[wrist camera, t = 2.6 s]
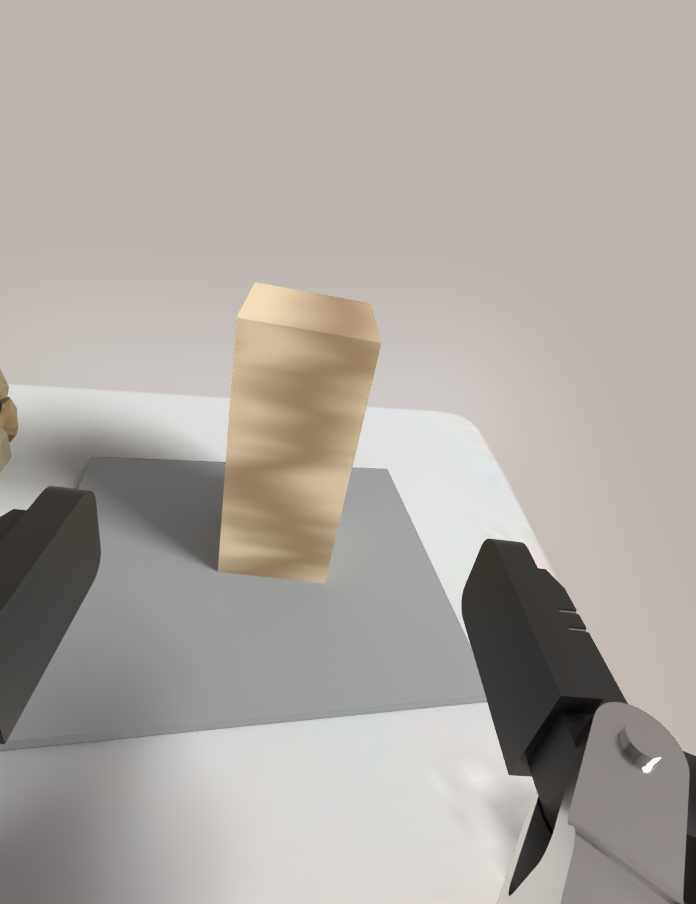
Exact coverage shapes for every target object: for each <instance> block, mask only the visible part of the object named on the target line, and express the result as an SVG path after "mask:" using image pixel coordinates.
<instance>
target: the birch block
mask: <svg viewBox="0 0 696 904" xmlns="http://www.w3.org/2000/svg"><path fill="white" fill-rule="evenodd" d="M235 334H236V335H235V347H234V360H233V373H232V387H231V400H230V414H229V427H228V441H227V454H226V467H225V481H224V494H223V508H222V521H221V534H220V548H219V561H218V572H224V573H233V574H242V575H251V576H260V577H269V578H278V579H287V580H297V581H306V582H315V583H324V584H325V581H326V577H327V572H328V568H329V564H330V560H331V555H332V551H333V547H334V543H335V538H336V534H337V530H338V525H339V521H340V517H341V513H342V508H343V504H344V500H345V496H346V491H347V487H348V483H349V479H350V474H351V470H352V466H353V461H354V457H355V453H356V449H357V444H358V440H359V436H360V432H361V427H362V423H363V419H364V414H365V410H366V406H367V402H368V397H369V393H370V388H371V385H372V380H373V375H374V371H375V367H376V363H377V359H378V355H379V350H380V346H381V340H380V336H379V333H378V328H377V325H376V321H375V317H374V314H373V310H372V306H371V304H369V303H365V302H359V301H354V300H348V299H343V298H338V297H332V296H327V295H321V294H316V293H311V292H305V291H300V290H294V289H289V288H284V287H278V286H273V285H268V284H262V283H257V282H255V284H254V286H253V288H252V290H251V291H250V293H249V295H248V297H247V299H246V301H245V303H244V304H243V306H242V308H241V310H240V312H239V314H238V316H237V320H236V333H235Z"/></svg>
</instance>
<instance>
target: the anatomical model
mask: <svg viewBox="0 0 696 904" xmlns="http://www.w3.org/2000/svg"><path fill="white" fill-rule="evenodd" d="M8 389H9V387H8V385H7V382H6V380H5V378H4V376H3V374H2V372H1V370H0V472H1V470H2V469H3V468H4V466H5V465H6V464H7V462H8V461H9V460H10V458H11V452H10V446H9V442H11V440H12V439H13V438H14V437H15V436H16V433H17V429H18V422H17V409H16V406H15V405H14V403H13V402H12V400H11V399H10V397H7V394H8Z"/></svg>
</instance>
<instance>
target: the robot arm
mask: <svg viewBox="0 0 696 904" xmlns="http://www.w3.org/2000/svg"><path fill="white" fill-rule="evenodd" d="M100 558H101V545H100V535H99V525H98V515H97V505H96V497H95V495H94V493H93V492H92V491H88V490H80V489H71V488H63V487H54V486H50V487H47V488H46V489H45V490H44V491H43V492H42V493H41V494H40V495H39V497H38V498H37V499H36V500H35V501H34V503H33V504H32V505H31V506H30V507H29V509H28V510H18V509H13V510H11V511H10V512H8V513H6V514H5V515H3V516H1V517H0V744H6V742H7V740H8V738H9V736H10V734H11V733H12V731H13V729H14V727H15V725H16V723H17V722H18V720H19V718H20V716H21V714H22V712H23V711H24V709H25V707H26V705H27V703H28V701H29V700H30V698H31V696H32V694H33V692H34V690H35V688H36V687H37V685H38V683H39V681H40V679H41V677H42V676H43V674H44V672H45V670H46V668H47V666H48V665H49V663H50V661H51V659H52V657H53V655H54V654H55V652H56V650H57V648H58V646H59V644H60V643H61V641H62V639H63V637H64V635H65V633H66V632H67V630H68V628H69V626H70V624H71V622H72V621H73V619H74V617H75V615H76V613H77V611H78V610H79V608H80V606H81V604H82V602H83V600H84V599H85V597H86V595H87V593H88V591H89V589H90V588H91V586H92V584H93V582H94V580H95V578H96V575H97V572H98V569H99V564H100ZM462 616H463V620H464V624H465V627H466V630H467V634H468V637H469V641H470V644H471V647H472V651H473V654H474V658H475V661H476V665H477V668H478V671H479V675H480V678H481V682H482V685H483V688H484V692H485V695H486V699H487V702H488V706H489V709H490V712H491V716H492V719H493V723H494V726H495V729H496V733H497V736H498V740H499V743H500V746H501V750H502V753H503V757H504V760H505V764H506V767H507V770H508V774H509V775H517V776H532V777H533V780H534V784H535V787H536V790H537V792H536V793H535V795H534V796H533V798H532V800H531V803H530V806H529V809H528V812H527V815H526V818H525V821H524V824H523V827H522V830H521V833H520V836H519V839H518V842H517V845H516V848H515V851H514V854H513V857H512V860H511V863H510V866H509V869H508V872H507V875H506V878H505V881H504V884H503V887H502V890H501V893H500V896H499V899H498V901H497V904H696V756H694V755H691V754H689V753H686V752H684V751H682V749H681V747H680V746H679V744H678V743H677V741H676V740H675V738H674V737H673V736H672V735H671V734H670V733H669V731H668V730H667V729H666V728H665V727H664V726H663V725H662V724H661V723H659V722H658V721H657V720H656V719H654V718H653V717H652V716H650V715H649V714H647V713H646V712H644V711H642V710H640V709H639V708H636V707H634V706H632V705H629V704H628V703H627V702H626V700H625V698H624V696H623V694H622V693H621V691H620V689H619V687H618V685H617V683H616V682H615V680H614V678H613V676H612V674H611V673H610V671H609V669H608V667H607V665H606V663H605V661H604V660H603V658H602V656H601V654H600V652H599V651H598V649H597V647H596V645H595V643H594V641H593V640H592V638H591V636H590V634H589V633H588V632H586V627H585V625H584V623H583V621H582V620H581V618H580V616H579V614H576V608H575V607H574V605H573V603H572V601H571V599H570V597H569V596H568V594H567V592H566V590H565V588H564V587H563V586H562V585H561V584H560V583H559V582H558V581H557V580H556V579H555V578H554V577H553V576H552V575H551V574H550V573H549V572H548V571H547V570H546V569H538V568H537V566H536V564H535V562H534V560H533V558H532V556H531V554H530V552H529V550H528V548H527V546H526V545H525V544H524V543H521V542H513V541H505V540H496V539H487V540H485V541H484V543H483V544H482V546H481V549H480V551H479V553H478V556H477V558H476V561H475V563H474V565H473V568H472V570H471V573H470V575H469V578H468V580H467V582H466V585H465V587H464V590H463V595H462Z"/></svg>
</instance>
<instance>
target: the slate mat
mask: <svg viewBox="0 0 696 904" xmlns="http://www.w3.org/2000/svg"><path fill="white" fill-rule="evenodd" d="M225 467H226V462H207V461H183V460H159V459H135V458H111V457H90V459H89V462H88V465H87V467H86V470H85V472H84V475H83V477H82V480H81V482H80V485H79V487H78V489H80V490H88V491H92V492H93V493H94V495H95V497H96V505H97V515H98V525H99V535H100V545H101V558H100V564H99V569H98V572H97V575H96V578H95V580H94V582H93V584H92V586H91V588H90V589H89V591H88V593H87V595H86V597H85V599H84V600H83V602H82V604H81V606H80V608H79V610H78V611H77V613H76V615H75V617H74V619H73V621H72V622H71V624H70V626H69V628H68V630H67V632H66V633H65V635H64V637H63V639H62V641H61V643H60V644H59V646H58V648H57V650H56V652H55V654H54V655H53V657H52V659H51V661H50V663H49V665H48V666H47V668H46V670H45V672H44V674H43V676H42V677H41V679H40V681H39V683H38V685H37V687H36V688H35V690H34V692H33V694H32V696H31V698H30V700H29V701H28V703H27V705H26V707H25V709H24V711H23V712H22V714H21V716H20V718H19V720H18V722H17V723H16V725H15V727H14V729H13V731H12V733H11V734H10V736H9V738H8V740H7V742H6V744H0V751H3V750H13V749H23V748H33V747H43V746H53V745H62V744H72V743H82V742H92V741H102V740H112V739H122V738H132V737H142V736H152V735H162V734H171V733H181V732H191V731H201V730H211V729H221V728H231V727H241V726H251V725H261V724H271V723H280V722H290V721H300V720H310V719H320V718H330V717H340V716H350V715H360V714H370V713H380V712H390V711H399V710H409V709H419V708H429V707H439V706H449V705H459V704H469V703H479V702H487V699H486V695H485V692H484V688H483V685H482V682H481V678H480V675H479V671H478V668H477V665H476V661H475V658H474V654H473V651H472V649H471V647H470V644H469V642H468V640H467V638H466V636H465V634H464V632H463V629H462V627H461V625H460V623H459V621H458V619H457V617H456V615H455V612H454V610H453V608H452V606H451V604H450V602H449V600H448V597H447V595H446V593H445V591H444V589H443V587H442V585H441V583H440V580H439V578H438V576H437V574H436V572H435V570H434V568H433V566H432V563H431V561H430V559H429V557H428V555H427V553H426V551H425V548H424V546H423V544H422V542H421V540H420V538H419V536H418V534H417V531H416V529H415V527H414V525H413V523H412V521H411V519H410V516H409V514H408V512H407V510H406V508H405V506H404V504H403V502H402V499H401V497H400V495H399V493H398V491H397V489H396V487H395V485H394V482H393V480H392V478H391V476H390V474H389V472H388V470H387V469H375V468H352V470H351V474H350V479H349V483H348V487H347V491H346V496H345V500H344V504H343V508H342V513H341V517H340V521H339V525H338V530H337V534H336V538H335V543H334V547H333V551H332V555H331V560H330V564H329V568H328V572H327V577H326V581H325V584H324V583H315V582H306V581H297V580H287V579H278V578H269V577H260V576H251V575H242V574H233V573H224V572H218V561H219V548H220V534H221V521H222V508H223V494H224V481H225Z"/></svg>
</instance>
